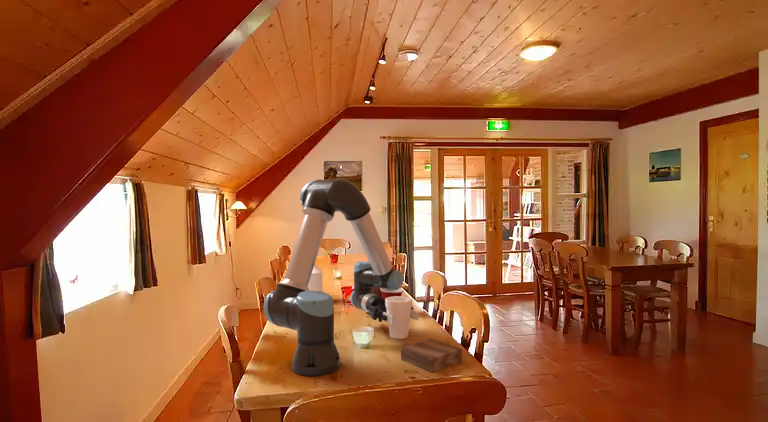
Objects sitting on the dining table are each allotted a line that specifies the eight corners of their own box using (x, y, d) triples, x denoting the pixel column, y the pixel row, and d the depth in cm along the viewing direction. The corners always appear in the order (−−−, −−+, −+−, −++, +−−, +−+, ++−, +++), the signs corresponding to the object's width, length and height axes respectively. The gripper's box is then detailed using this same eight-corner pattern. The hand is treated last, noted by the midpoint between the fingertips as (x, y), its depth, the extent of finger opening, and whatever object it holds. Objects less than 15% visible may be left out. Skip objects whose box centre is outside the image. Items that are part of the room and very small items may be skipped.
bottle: (295, 302, 222) (294, 254, 222) (314, 298, 230) (313, 252, 230) (307, 306, 214) (306, 256, 213) (327, 302, 222) (326, 254, 221)
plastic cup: (401, 317, 191) (401, 291, 191) (378, 316, 194) (377, 290, 193) (405, 311, 202) (405, 286, 202) (383, 310, 204) (382, 285, 204)
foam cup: (416, 334, 153) (416, 298, 153) (403, 341, 146) (403, 303, 145) (394, 330, 159) (393, 295, 158) (380, 337, 151) (380, 300, 151)
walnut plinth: (431, 372, 131) (431, 359, 131) (401, 359, 142) (401, 347, 142) (461, 360, 140) (461, 348, 140) (430, 349, 151) (430, 338, 151)
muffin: (388, 303, 218) (388, 283, 218) (383, 308, 207) (383, 288, 207) (366, 302, 221) (365, 283, 221) (360, 307, 210) (359, 287, 210)
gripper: (398, 310, 173) (431, 324, 154) (348, 318, 162) (377, 334, 143) (398, 292, 173) (431, 303, 153) (348, 298, 162) (377, 311, 143)
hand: (405, 318), depth 148 cm, fingers closed on foam cup, 9 cm apart
